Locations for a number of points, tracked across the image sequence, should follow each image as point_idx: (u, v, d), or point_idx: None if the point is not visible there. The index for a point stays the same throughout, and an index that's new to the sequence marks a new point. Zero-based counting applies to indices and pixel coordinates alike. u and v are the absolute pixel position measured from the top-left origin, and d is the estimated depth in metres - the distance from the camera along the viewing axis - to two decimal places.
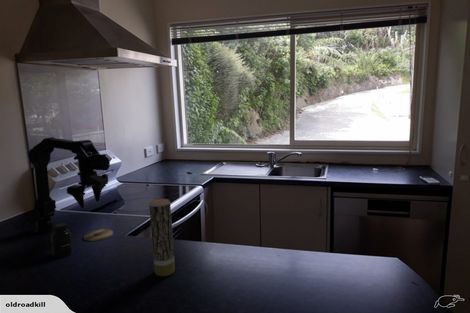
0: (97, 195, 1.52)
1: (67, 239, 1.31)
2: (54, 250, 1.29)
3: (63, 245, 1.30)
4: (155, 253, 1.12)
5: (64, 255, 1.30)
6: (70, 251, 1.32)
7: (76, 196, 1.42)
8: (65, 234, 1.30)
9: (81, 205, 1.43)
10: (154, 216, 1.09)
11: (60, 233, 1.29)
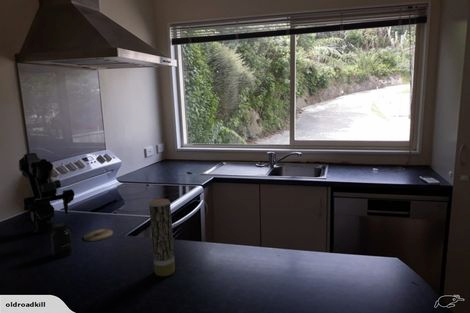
0: (64, 207, 1.41)
1: (67, 239, 1.31)
2: (54, 250, 1.29)
3: (63, 245, 1.30)
4: (155, 253, 1.12)
5: (64, 255, 1.30)
6: (70, 251, 1.32)
7: (34, 210, 1.37)
8: (65, 234, 1.30)
9: (39, 217, 1.35)
10: (154, 216, 1.09)
11: (60, 233, 1.29)
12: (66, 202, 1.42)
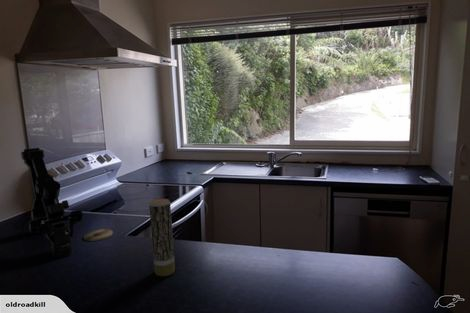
0: (70, 230, 1.34)
1: (67, 239, 1.31)
2: (54, 250, 1.29)
3: (63, 244, 1.30)
4: (155, 253, 1.12)
5: (64, 255, 1.30)
6: (70, 251, 1.32)
7: (44, 232, 1.31)
8: (65, 234, 1.30)
9: (49, 239, 1.29)
10: (154, 216, 1.09)
11: (60, 233, 1.29)
12: (71, 224, 1.35)
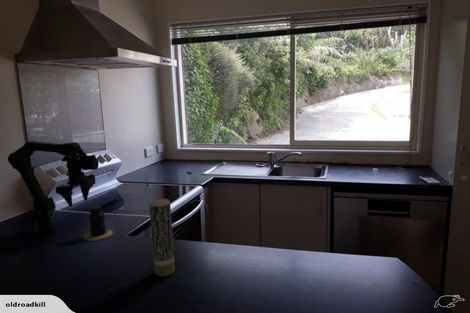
0: (85, 194, 1.60)
1: (104, 218, 1.50)
2: (96, 229, 1.47)
3: (103, 223, 1.49)
4: (155, 253, 1.12)
5: (104, 232, 1.49)
6: (105, 229, 1.52)
7: (64, 195, 1.50)
8: (103, 214, 1.49)
9: (69, 204, 1.51)
10: (154, 216, 1.09)
11: (99, 214, 1.48)
12: (88, 190, 1.60)
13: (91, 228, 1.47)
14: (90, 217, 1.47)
